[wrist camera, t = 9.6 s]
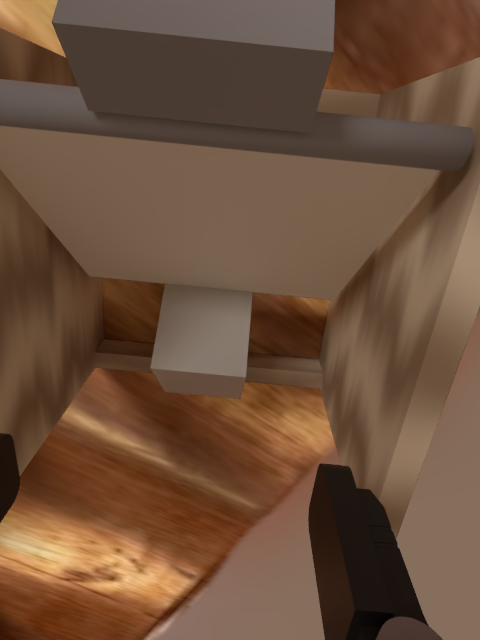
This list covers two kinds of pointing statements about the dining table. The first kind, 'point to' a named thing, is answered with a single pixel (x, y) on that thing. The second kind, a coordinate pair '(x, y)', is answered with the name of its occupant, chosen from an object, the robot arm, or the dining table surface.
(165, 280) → the trapdoor
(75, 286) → the frame
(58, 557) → the dining table surface
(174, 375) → the cube
